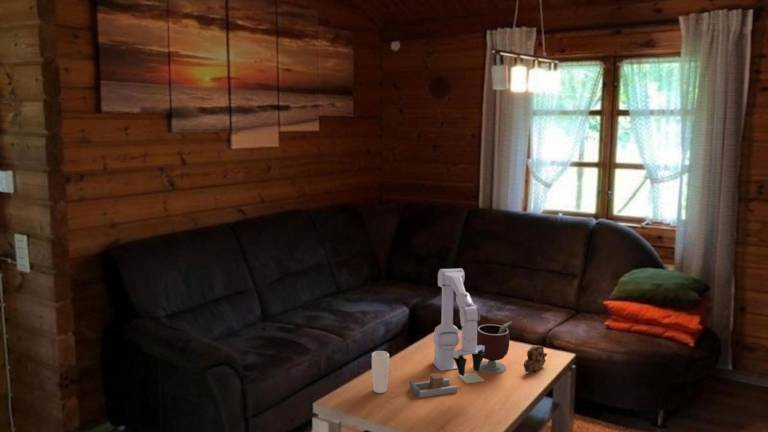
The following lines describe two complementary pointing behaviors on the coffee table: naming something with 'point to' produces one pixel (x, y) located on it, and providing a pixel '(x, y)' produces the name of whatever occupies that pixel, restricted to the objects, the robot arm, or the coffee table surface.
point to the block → (436, 381)
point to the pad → (471, 378)
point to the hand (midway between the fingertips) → (468, 372)
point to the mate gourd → (493, 346)
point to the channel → (420, 392)
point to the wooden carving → (535, 358)
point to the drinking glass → (380, 371)
